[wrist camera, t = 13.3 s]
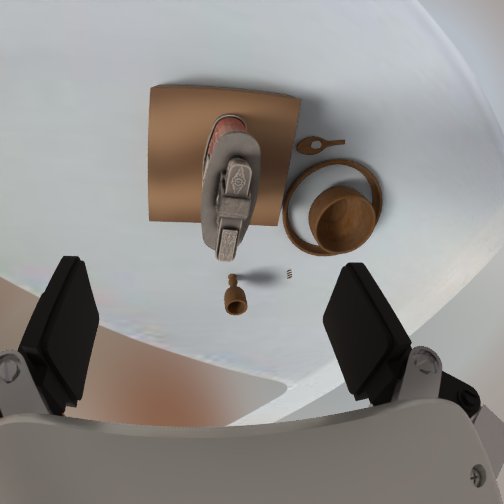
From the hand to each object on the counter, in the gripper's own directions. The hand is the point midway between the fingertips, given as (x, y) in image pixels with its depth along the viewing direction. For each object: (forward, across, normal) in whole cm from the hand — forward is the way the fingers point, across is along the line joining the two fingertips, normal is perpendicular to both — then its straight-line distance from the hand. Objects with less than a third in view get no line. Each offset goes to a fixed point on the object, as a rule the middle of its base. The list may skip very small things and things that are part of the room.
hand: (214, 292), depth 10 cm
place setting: (+21, -10, +8) cm, 25 cm away
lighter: (+17, -1, 0) cm, 17 cm away
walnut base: (+20, -1, +1) cm, 20 cm away
